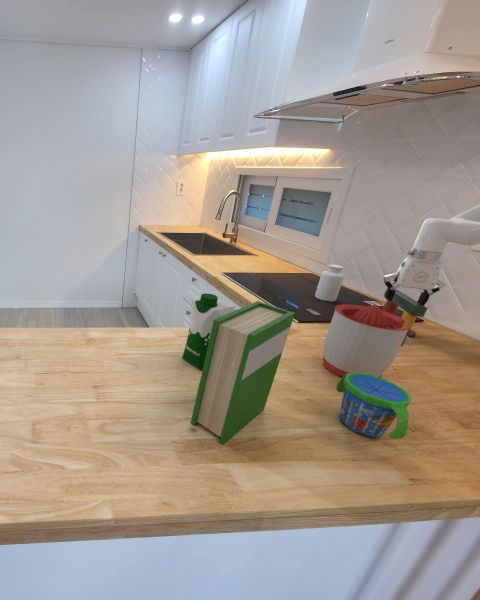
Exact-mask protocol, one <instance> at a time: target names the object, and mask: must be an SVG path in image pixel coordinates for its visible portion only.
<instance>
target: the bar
mask: <svg viewBox="0 0 480 600" xmlns="http://www.w3.org/2000/svg"><path fill="white" fill-rule="evenodd" d="M387 290H388V288H387V287H386V289H385V292H384V294H383V297H384V298H385V294H386V292H387ZM395 291H396V292H395V294H394V296H393V299H392V301H391V302H393V303H394V304H396V305H397V306H398V307H399V308H400V309H402V310H403V311H404V310H405V311H406V312H407V313H409V314H410V315H412V316H417V317H419V318H420V317H421V318H424V317H425V315H426V313H427V311H428V309H429V308H428V307H427V306H425V305H422V304H420V303H419V302H417V301H418V300H416V299H414V298H413V297H410V296H409V295H407V294H406V293H404V292H402V291H401V290H398V288H396V289H395Z"/></svg>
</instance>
